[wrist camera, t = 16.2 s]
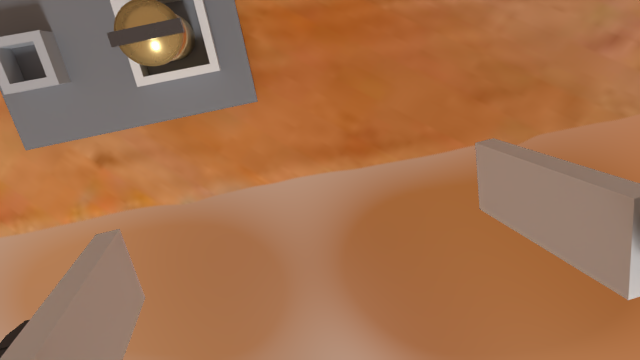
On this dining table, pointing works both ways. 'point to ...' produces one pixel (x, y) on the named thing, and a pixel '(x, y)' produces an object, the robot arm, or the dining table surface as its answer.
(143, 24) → the amber translucent cylinder
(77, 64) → the board
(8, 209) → the dining table surface
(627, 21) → the dining table surface
